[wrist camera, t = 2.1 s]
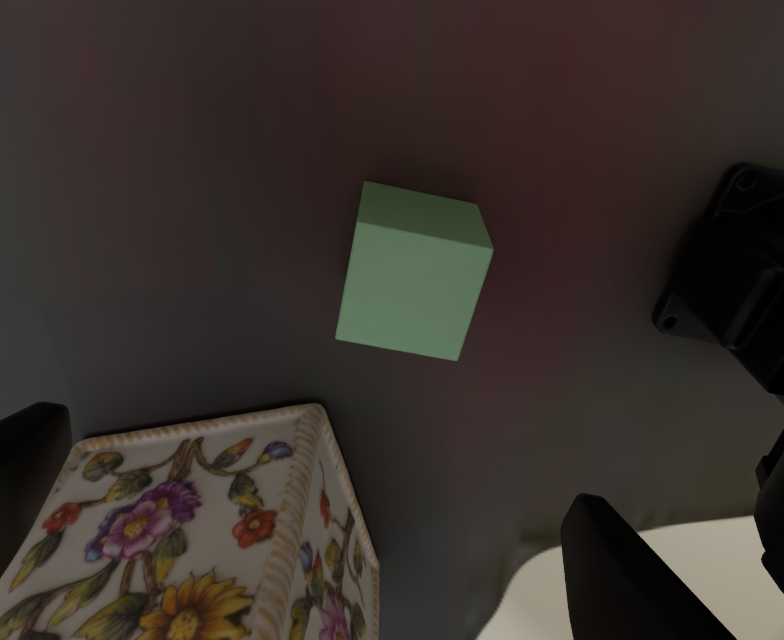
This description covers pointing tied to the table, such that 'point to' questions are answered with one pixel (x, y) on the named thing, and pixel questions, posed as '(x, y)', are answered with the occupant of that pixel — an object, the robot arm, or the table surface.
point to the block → (413, 272)
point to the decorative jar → (199, 538)
